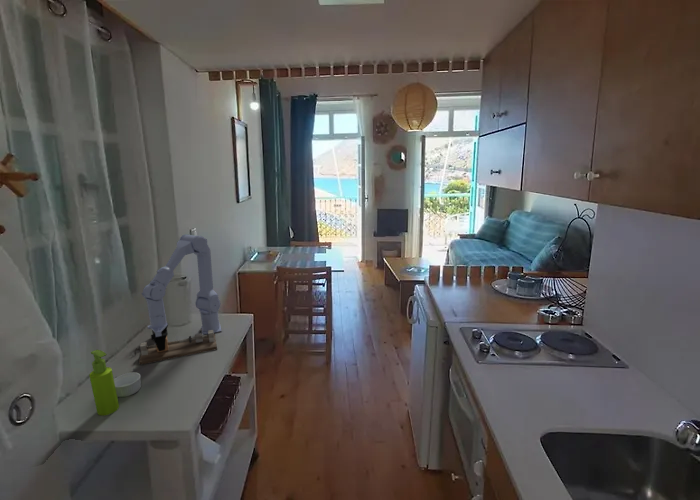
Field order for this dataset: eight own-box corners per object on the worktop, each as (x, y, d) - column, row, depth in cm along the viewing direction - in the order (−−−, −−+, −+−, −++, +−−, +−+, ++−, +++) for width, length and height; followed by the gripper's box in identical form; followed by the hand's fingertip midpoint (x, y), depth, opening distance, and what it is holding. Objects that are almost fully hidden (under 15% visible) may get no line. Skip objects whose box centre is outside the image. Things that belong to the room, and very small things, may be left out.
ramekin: (126, 400, 131) (124, 388, 130) (106, 395, 134) (104, 384, 133) (148, 385, 139) (146, 374, 138) (129, 381, 142) (126, 370, 141)
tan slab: (142, 350, 165) (140, 338, 164) (215, 336, 175) (213, 325, 173) (139, 364, 153) (137, 352, 152) (217, 349, 163) (215, 337, 162)
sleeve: (157, 348, 162) (155, 337, 161) (168, 346, 164) (166, 335, 163) (157, 352, 159) (155, 341, 158) (168, 350, 160) (166, 339, 159)
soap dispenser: (105, 419, 122) (92, 358, 117) (93, 412, 125) (80, 353, 121) (124, 408, 127) (113, 349, 122) (112, 402, 130) (101, 345, 125)
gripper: (147, 309, 163) (152, 340, 166) (144, 322, 150) (149, 356, 153) (166, 306, 165) (171, 337, 169) (164, 319, 152) (170, 352, 156)
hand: (162, 346), depth 161 cm, fingers open, 7 cm apart
